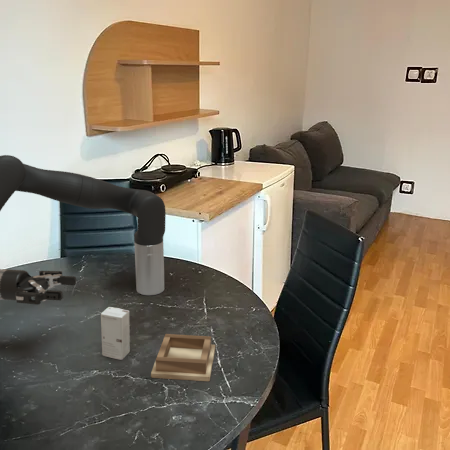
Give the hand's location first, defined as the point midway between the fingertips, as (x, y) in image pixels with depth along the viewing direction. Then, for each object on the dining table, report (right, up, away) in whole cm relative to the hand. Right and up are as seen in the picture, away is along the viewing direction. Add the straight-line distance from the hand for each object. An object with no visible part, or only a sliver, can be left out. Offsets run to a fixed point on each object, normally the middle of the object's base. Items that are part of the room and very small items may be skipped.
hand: (69, 288), depth 118 cm
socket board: (+29, -19, +2) cm, 34 cm away
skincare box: (+11, -18, +5) cm, 21 cm away
